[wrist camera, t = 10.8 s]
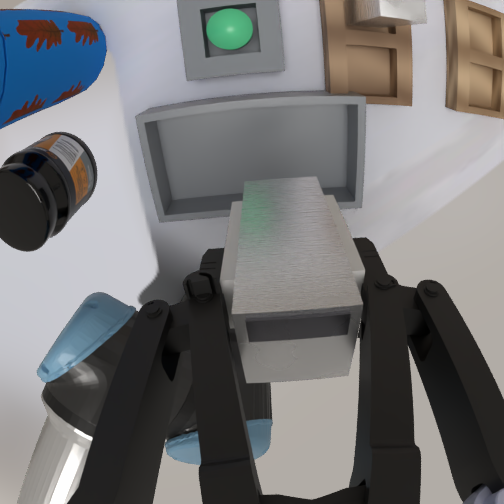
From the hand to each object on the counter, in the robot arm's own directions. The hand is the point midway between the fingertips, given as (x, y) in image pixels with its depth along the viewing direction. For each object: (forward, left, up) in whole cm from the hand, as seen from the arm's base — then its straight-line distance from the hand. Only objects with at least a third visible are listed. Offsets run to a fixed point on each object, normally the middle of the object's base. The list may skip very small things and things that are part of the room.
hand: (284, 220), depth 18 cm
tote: (-1, +2, -19) cm, 19 cm away
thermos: (+14, +22, -19) cm, 32 cm away
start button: (+12, +3, -17) cm, 21 cm away
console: (+12, +3, -19) cm, 22 cm away
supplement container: (0, +26, -19) cm, 32 cm away
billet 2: (+14, -11, -18) cm, 26 cm away
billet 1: (0, 0, -1) cm, 1 cm away
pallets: (+11, -18, -19) cm, 28 cm away
